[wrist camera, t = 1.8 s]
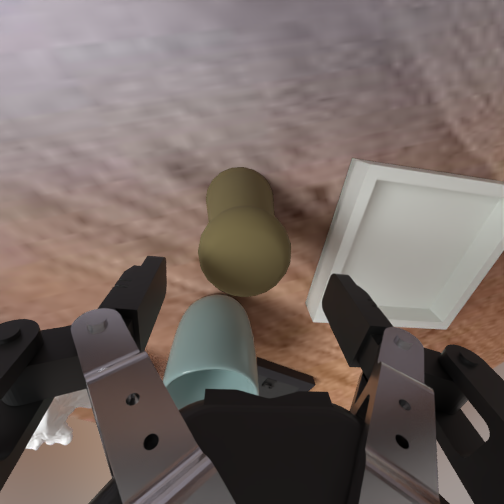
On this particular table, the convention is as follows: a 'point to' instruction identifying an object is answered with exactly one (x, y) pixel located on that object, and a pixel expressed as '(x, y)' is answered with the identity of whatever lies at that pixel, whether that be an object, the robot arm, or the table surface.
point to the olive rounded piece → (243, 235)
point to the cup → (211, 351)
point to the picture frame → (281, 380)
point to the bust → (58, 420)
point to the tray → (412, 241)
